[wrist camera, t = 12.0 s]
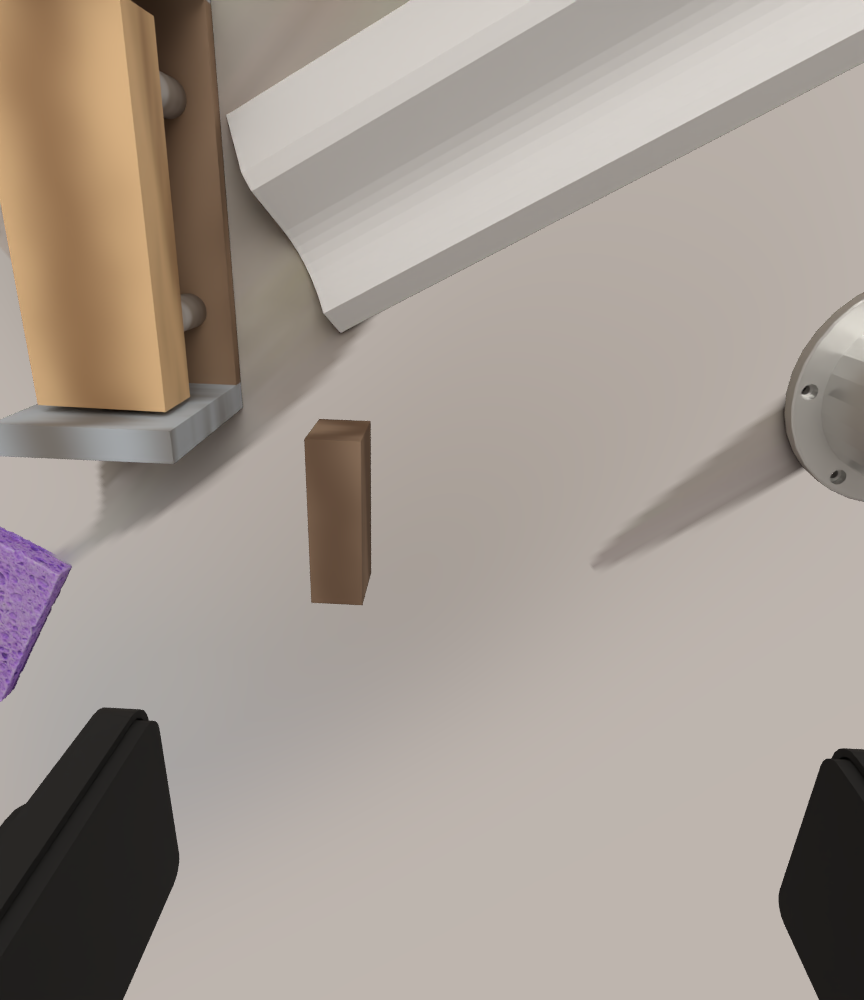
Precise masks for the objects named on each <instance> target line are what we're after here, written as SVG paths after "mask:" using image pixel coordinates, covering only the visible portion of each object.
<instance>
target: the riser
mask: <svg viewBox="0 0 864 1000" xmlns="http://www.w3.org/2000/svg"><path fill="white" fill-rule="evenodd" d="M370 428H371V424H370V421H352V420H328V419H319V420H318V422H317V423H316V424H315V426H314V427H313V429H312V430H311V431H310V432H309V434H308V435H307V436H306V438H305V440H304V441H305V465H306V486H307V487H306V488H307V510H308V533H309V556H310V581H311V602H312V603H330V604H349V605H363V601H364V597H365V593H366V589H367V586H368V582H369V578H370V575H371V439H370V438H371V437H370V435H371V434H370V433H371V432H370V430H371V429H370Z"/></svg>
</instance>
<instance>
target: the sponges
mask: <svg viewBox="0 0 864 1000" xmlns="http://www.w3.org/2000/svg"><path fill="white" fill-rule="evenodd" d="M52 554H53V553H52V552H50V551H48V550H46V549H44V548H42V547H41V546H38V545H36V544H34V543H32V542H31V541H30V540H26V539H24V538H23V537H21V536H19V535H17V534H15V533H14V532H10V531H7V530H6V529H5V528H2V527H0V702H1V701H2V700H3V699H4V698H6V697H7V695H9V694H10V693H11V691H12V690H14V689H15V686H16V684H17V681H18V679H19V677H20V674H21V672H22V671H23V669H24V667H25V665H26V663H27V661H28V659H29V656H30V653H31V652H32V650H33V647H34V646H35V643H36V641H37V639H38V637H39V635H40V632H41V630H42V628H43V626H44V624H45V622H46V620H47V617H48V616H49V614H50V612H51V610H52V608H51V606H52V605H53V604H54V603H55V601H56V599H57V598H58V596H59V594H60V592H61V588H62V587H63V585H64V583H65V581H66V579H67V577H68V574H69V572H70V570H71V568H72V565H70V566H69V565H68V564H66V563H64V562H62V561H60V560H58V559H56V558H54V557H52V556H50V555H52Z"/></svg>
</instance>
